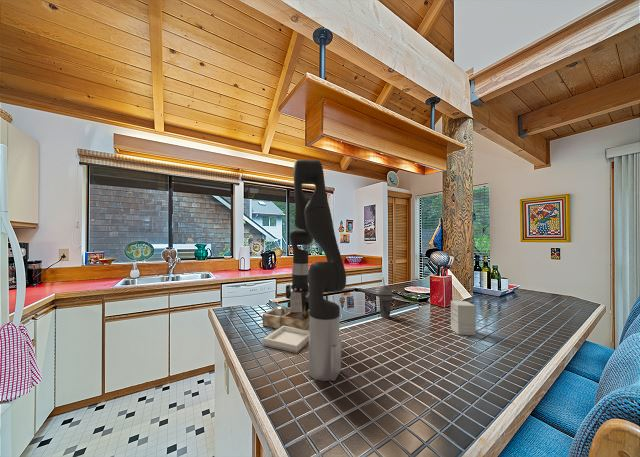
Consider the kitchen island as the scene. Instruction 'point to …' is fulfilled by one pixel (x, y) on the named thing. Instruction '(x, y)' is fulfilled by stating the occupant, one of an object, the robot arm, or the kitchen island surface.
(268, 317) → the wooden holder
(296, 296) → the coffee box
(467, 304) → the supplement box
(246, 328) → the kitchen island surface
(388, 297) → the beverage cup
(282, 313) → the metal tin
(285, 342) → the plastic tray
